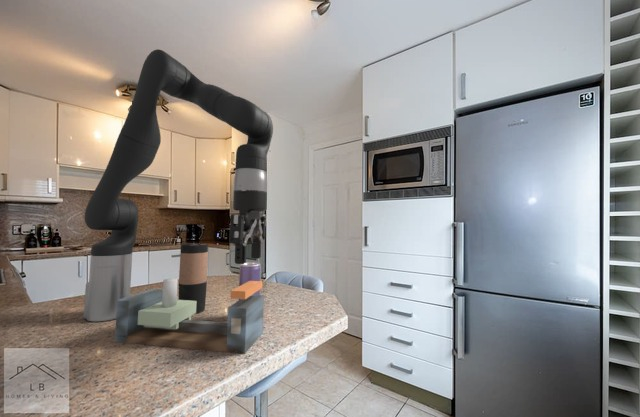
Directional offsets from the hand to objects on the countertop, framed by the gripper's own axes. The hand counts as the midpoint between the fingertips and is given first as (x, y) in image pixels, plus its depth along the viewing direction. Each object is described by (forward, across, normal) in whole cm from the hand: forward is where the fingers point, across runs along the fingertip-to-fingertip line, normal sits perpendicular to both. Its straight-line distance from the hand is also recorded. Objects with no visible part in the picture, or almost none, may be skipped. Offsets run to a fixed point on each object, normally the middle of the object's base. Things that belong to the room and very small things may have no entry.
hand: (248, 260), depth 58 cm
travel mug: (+18, -16, -24) cm, 34 cm away
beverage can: (+18, -14, -6) cm, 24 cm away
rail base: (+18, 0, -14) cm, 22 cm away
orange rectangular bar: (+7, 0, 0) cm, 7 cm away
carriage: (+15, 0, -20) cm, 25 cm away
